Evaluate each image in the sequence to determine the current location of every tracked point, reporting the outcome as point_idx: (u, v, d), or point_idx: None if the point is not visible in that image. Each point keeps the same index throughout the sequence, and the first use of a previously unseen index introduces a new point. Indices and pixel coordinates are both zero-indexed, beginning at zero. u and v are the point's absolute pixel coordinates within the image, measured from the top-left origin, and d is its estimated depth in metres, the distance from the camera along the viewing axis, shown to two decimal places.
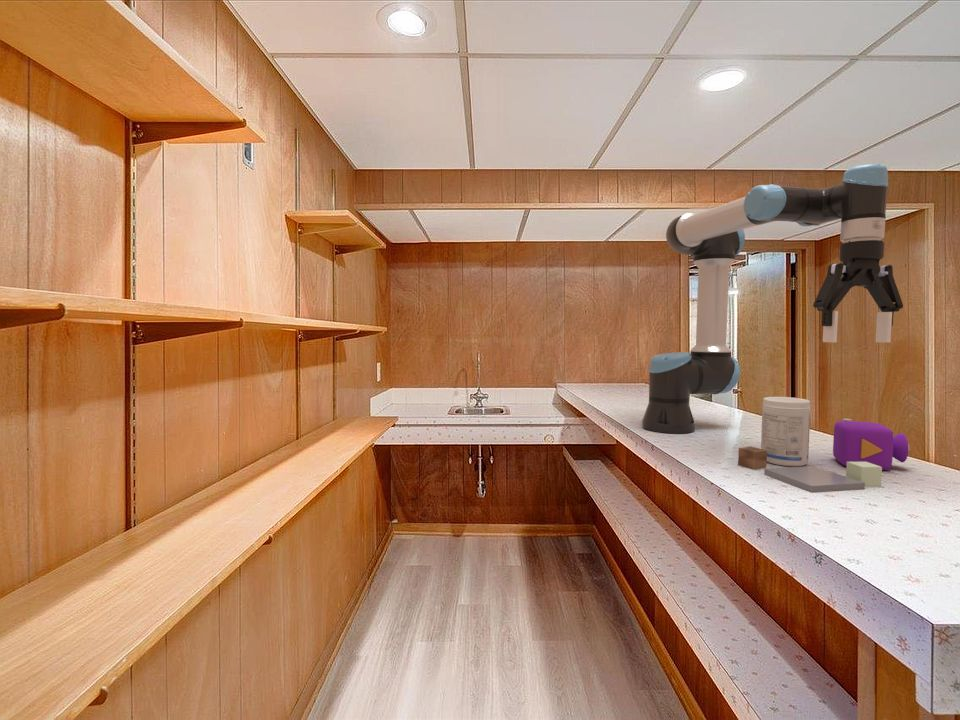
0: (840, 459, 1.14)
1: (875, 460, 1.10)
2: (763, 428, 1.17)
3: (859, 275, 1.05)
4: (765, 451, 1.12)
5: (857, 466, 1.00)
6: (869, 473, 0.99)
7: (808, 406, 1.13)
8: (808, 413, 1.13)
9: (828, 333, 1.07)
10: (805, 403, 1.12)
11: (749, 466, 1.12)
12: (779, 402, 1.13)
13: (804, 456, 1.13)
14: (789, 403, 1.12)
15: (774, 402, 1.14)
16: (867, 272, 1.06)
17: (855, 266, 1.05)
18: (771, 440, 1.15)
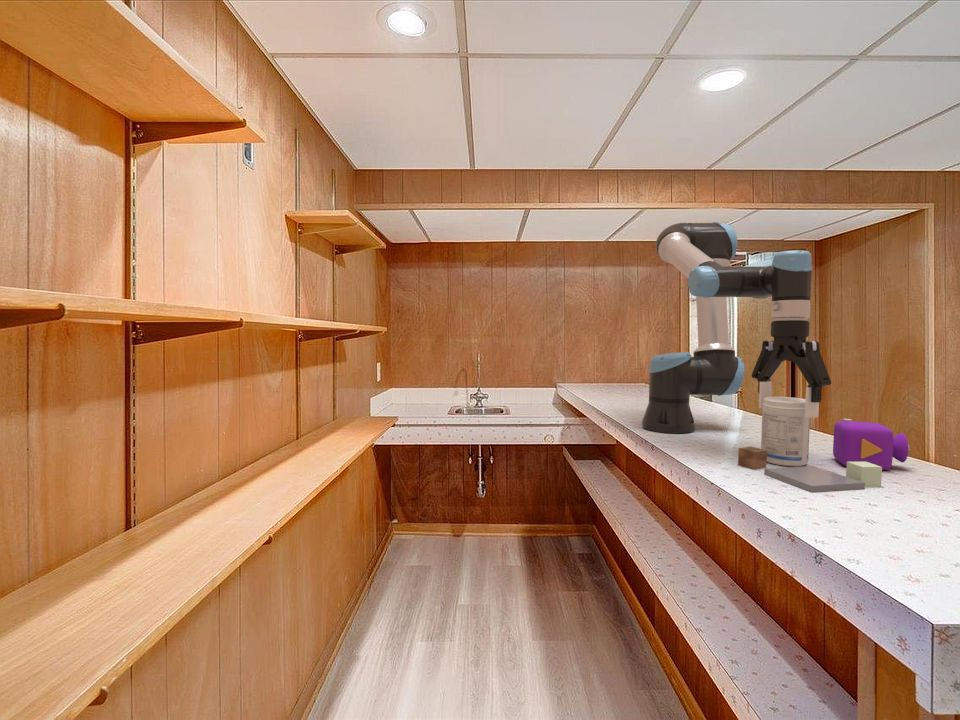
0: (840, 459, 1.14)
1: (875, 460, 1.10)
2: (763, 428, 1.17)
3: (775, 351, 1.17)
4: (765, 451, 1.12)
5: (857, 466, 1.00)
6: (869, 473, 0.99)
7: None
8: None
9: None
10: None
11: (749, 466, 1.12)
12: (779, 402, 1.13)
13: (804, 456, 1.13)
14: (789, 403, 1.12)
15: (774, 402, 1.14)
16: None
17: (776, 343, 1.18)
18: (771, 440, 1.15)
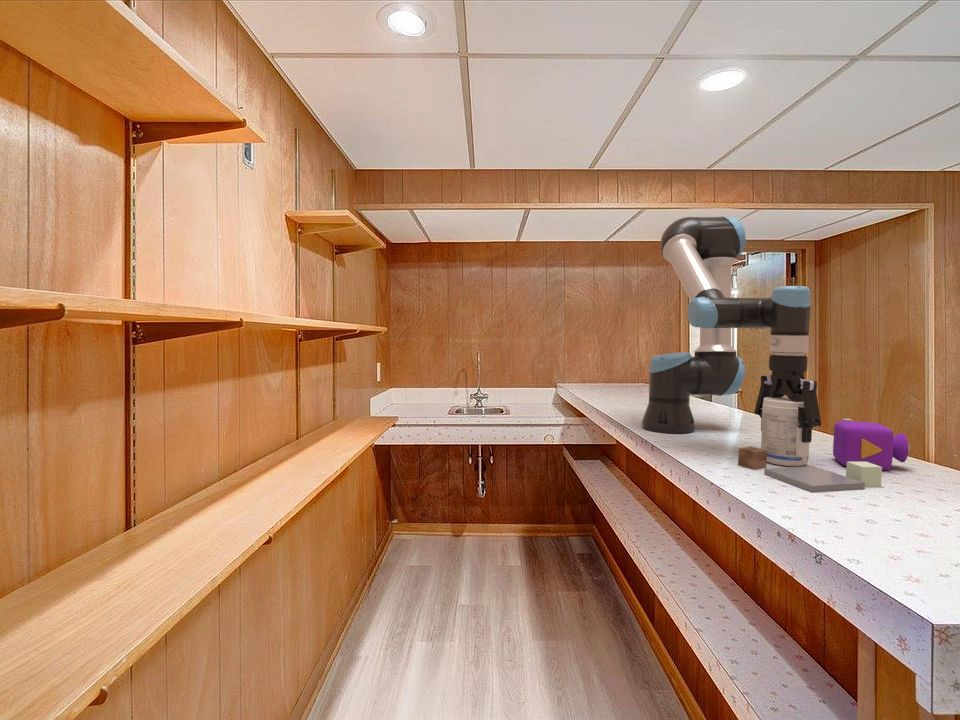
0: (840, 459, 1.14)
1: (875, 460, 1.10)
2: (763, 428, 1.17)
3: (774, 385, 1.18)
4: (765, 451, 1.12)
5: (857, 466, 1.00)
6: (869, 473, 0.99)
7: None
8: None
9: None
10: None
11: (749, 466, 1.12)
12: (779, 402, 1.13)
13: None
14: (789, 403, 1.12)
15: (774, 402, 1.14)
16: None
17: (774, 376, 1.18)
18: (771, 440, 1.15)
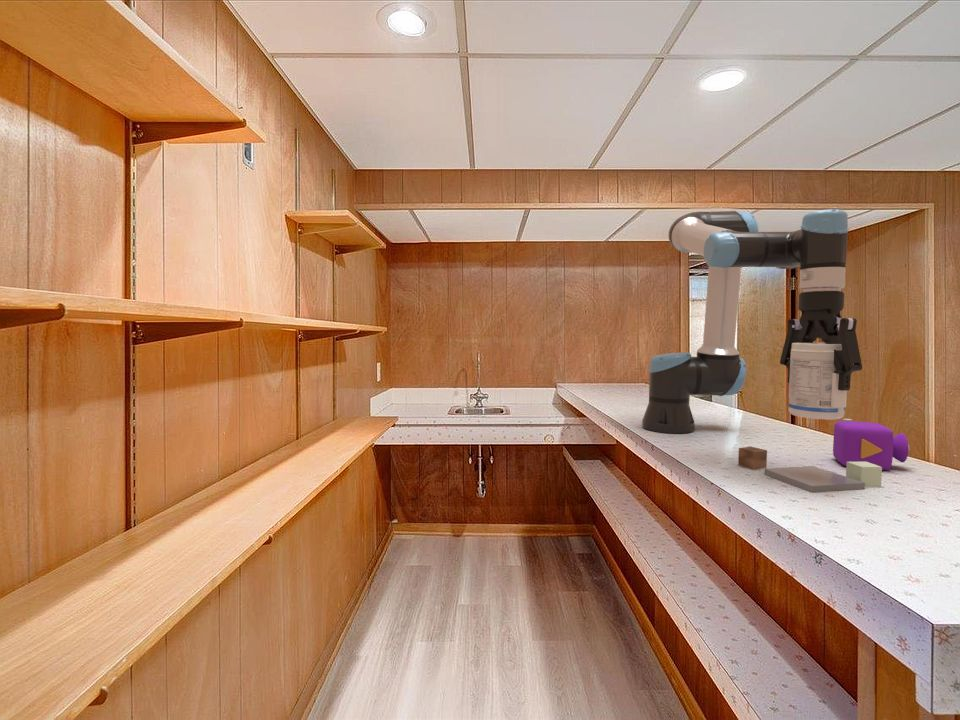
0: (840, 459, 1.14)
1: (875, 460, 1.10)
2: (792, 377, 1.01)
3: (804, 328, 1.02)
4: (765, 451, 1.12)
5: (857, 466, 1.00)
6: (869, 473, 0.99)
7: None
8: None
9: None
10: None
11: (749, 466, 1.12)
12: (811, 345, 0.97)
13: None
14: (823, 345, 0.96)
15: (805, 345, 0.98)
16: None
17: (804, 317, 1.03)
18: (802, 390, 0.99)
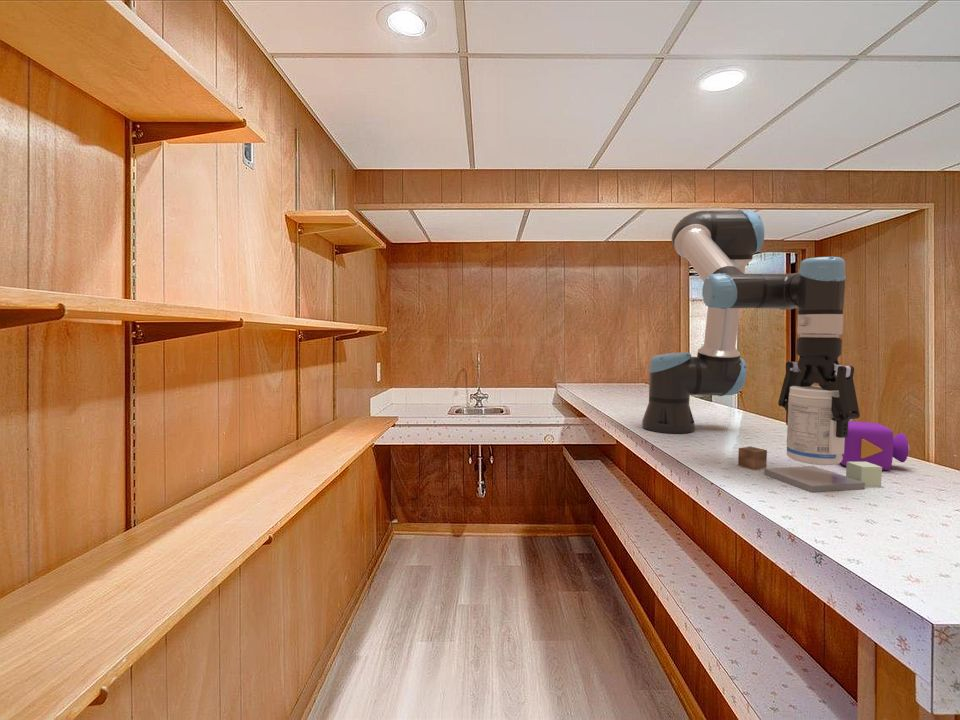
0: None
1: (875, 460, 1.10)
2: (790, 421, 1.02)
3: (802, 372, 1.02)
4: (765, 451, 1.12)
5: (857, 466, 1.00)
6: (869, 473, 0.99)
7: None
8: None
9: None
10: None
11: (749, 466, 1.12)
12: (809, 391, 0.98)
13: None
14: (821, 392, 0.97)
15: (803, 391, 0.99)
16: None
17: (802, 361, 1.03)
18: (800, 435, 0.99)
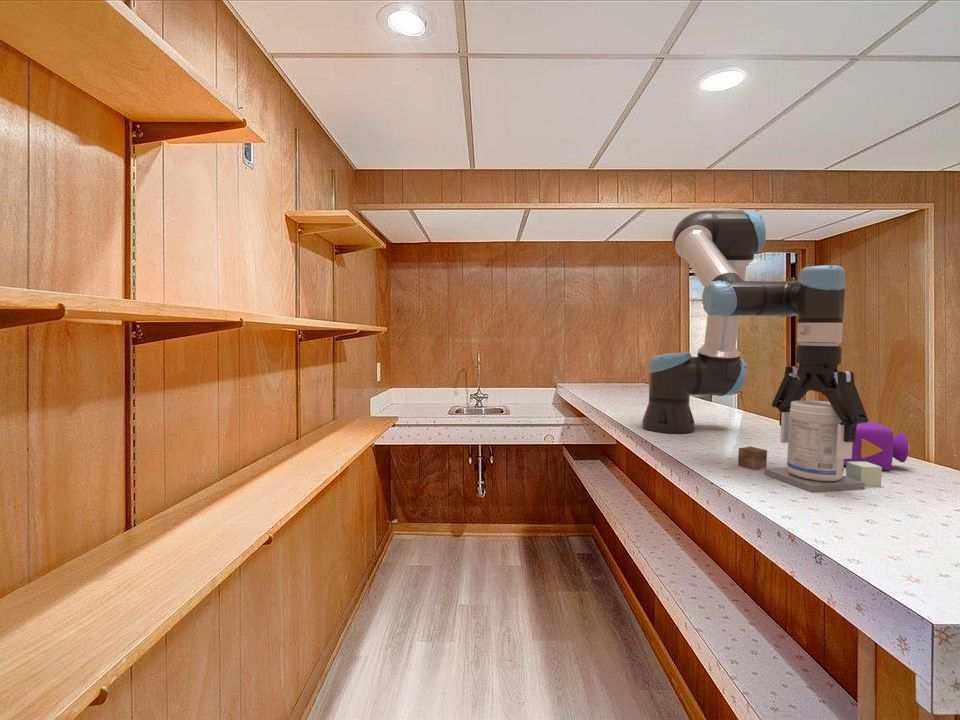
0: None
1: (875, 460, 1.10)
2: (790, 436, 1.02)
3: (800, 380, 1.03)
4: (765, 451, 1.12)
5: (857, 466, 1.00)
6: (869, 473, 0.99)
7: None
8: None
9: None
10: None
11: (749, 466, 1.12)
12: (810, 407, 0.98)
13: (839, 469, 0.98)
14: (822, 408, 0.97)
15: (804, 407, 0.99)
16: None
17: (802, 370, 1.03)
18: (801, 451, 0.99)
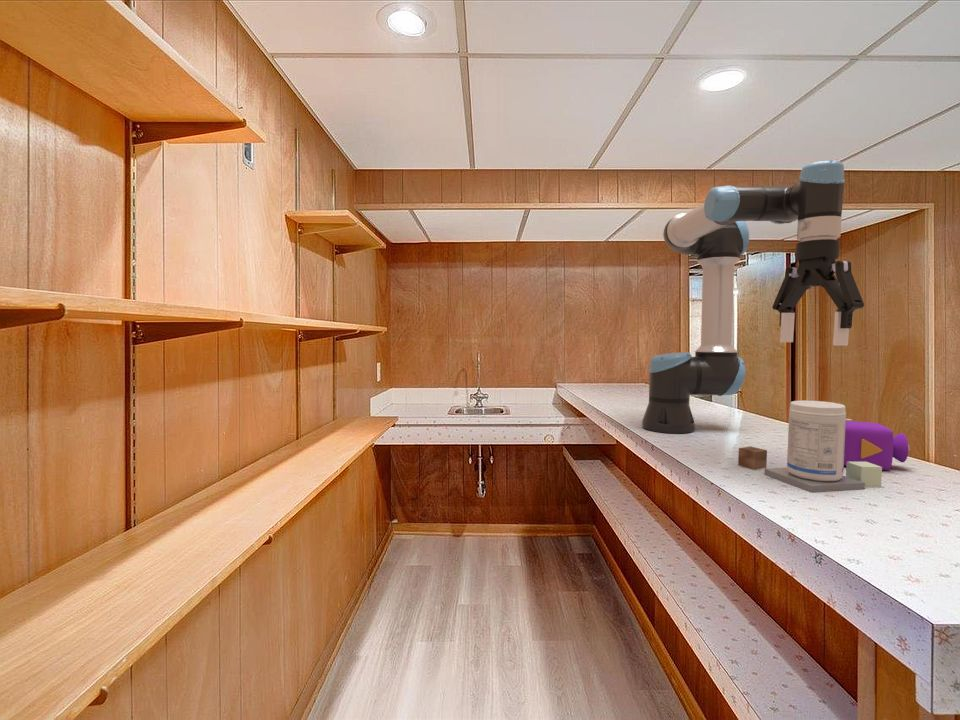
0: None
1: (875, 460, 1.10)
2: (790, 437, 1.02)
3: (800, 277, 1.06)
4: (765, 451, 1.12)
5: (857, 466, 1.00)
6: (869, 473, 0.99)
7: (844, 412, 0.97)
8: (844, 420, 0.97)
9: None
10: (840, 408, 0.97)
11: (749, 466, 1.12)
12: (810, 407, 0.98)
13: (839, 469, 0.98)
14: (822, 408, 0.97)
15: (804, 407, 0.99)
16: None
17: (802, 268, 1.07)
18: (801, 451, 0.99)
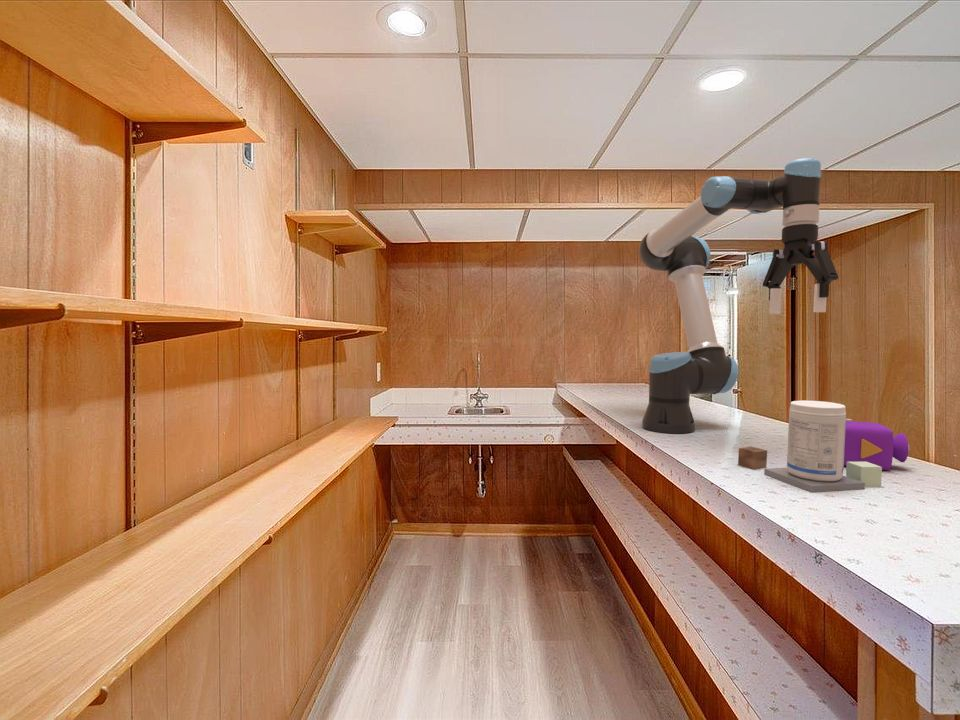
0: None
1: (875, 460, 1.10)
2: (790, 437, 1.02)
3: (785, 256, 1.25)
4: (765, 451, 1.12)
5: (857, 466, 1.00)
6: (869, 473, 0.99)
7: (844, 412, 0.97)
8: (844, 420, 0.97)
9: None
10: (840, 408, 0.97)
11: (749, 466, 1.12)
12: (810, 407, 0.98)
13: (839, 469, 0.98)
14: (822, 408, 0.97)
15: (804, 407, 0.99)
16: None
17: (787, 249, 1.26)
18: (801, 451, 0.99)
